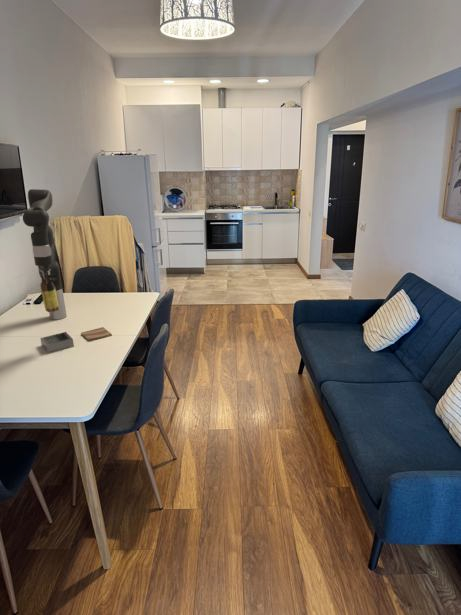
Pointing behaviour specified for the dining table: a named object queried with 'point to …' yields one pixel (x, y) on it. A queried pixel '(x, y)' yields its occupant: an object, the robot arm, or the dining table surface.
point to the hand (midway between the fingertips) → (48, 289)
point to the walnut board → (96, 334)
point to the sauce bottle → (49, 296)
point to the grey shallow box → (57, 342)
